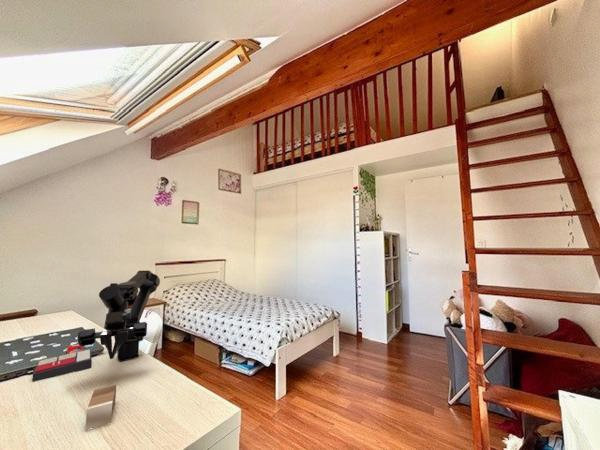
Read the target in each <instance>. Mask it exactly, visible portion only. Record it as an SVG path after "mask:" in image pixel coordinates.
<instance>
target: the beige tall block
mask: <svg viewBox="0 0 600 450" xmlns="http://www.w3.org/2000/svg"><path fill="white" fill-rule="evenodd" d="M116 396H117V384H112V385H108V386H103V387H99V388H95V389H93V392H92V395H91V397H90V400H89V402H88V406H87V407H86V417H85V418H86V419H85V430H87V431H89V430H88V429H90V428H94V429H96V428H95V427H97V428H100V427H99V426H101V427H103V426H102V425H104V426H106V425H105V424H108V423H111V424H112V419H113V416H114V411H115V405H116V398H117V397H116ZM113 410H114V411H113ZM108 425H109V424H108ZM90 430H91V429H90Z"/></svg>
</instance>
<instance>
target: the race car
mask: <svg viewBox="0 0 600 450" xmlns="http://www.w3.org/2000/svg"><path fill="white" fill-rule="evenodd" d="M84 349H85V347H84V346H79V343H76V344H71V345H68V346H67V348H66V349H65V350H66V352H65V355H66V354H71V353H75V352H76V353H78V352H81V351H85V350H84Z"/></svg>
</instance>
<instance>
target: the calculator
mask: <svg viewBox="0 0 600 450" xmlns="http://www.w3.org/2000/svg"><path fill="white" fill-rule="evenodd" d="M89 369H92V349H85V350H84V351H81V352H78V353H76V352H75V353H71V354H66V353H65V354H63V355H59V357H58V356H54V357H50V358H46V359H42V360H39V362H37V364H36V366H35V368H34V370H33V372H32V382H34V383H35V382H39V381H43V380H47V379H51V378H54V377H60V376H63V375H68V374H70V373H76V372H81V371H86V370H89Z"/></svg>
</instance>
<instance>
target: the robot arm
mask: <svg viewBox="0 0 600 450" xmlns="http://www.w3.org/2000/svg"><path fill="white" fill-rule="evenodd" d="M160 282H161V280H160V277H159V276H158V275H157V274H155V273H153V272H152V271H151V270H146V269H145V270H138V271H137V272H136V274H134V275H133V276H132V277H131V278H130V279H128V280H127V281H124V282H119V283H117V282H116V283H114V282H113V283H112V282H111V283H110V284H109V285H108V286H106V287H103V288H102V289H101V290H100V291H99V293H98V296H99V298H100V301H101V302H102V303H103V305H104V307H106V308H108V310H107V311H108V312H107V313H106V314H105V321H104V330H101V331H96V328H87V329H81V330H80V331H79V332H78V333H77V342H78V343H77V344H79V346H82V347H85V346H92V345H93V344H94V343H96V339H97V340H98V339H99V340H100V345H101V346H105V348H106V350H107V353H108V356H109V357H108V358H109V360H113V359H114V358H115V356H116V358H117V359H118V361H119V362H123V361H124V362H125V361H128V360H133V359H137V358H139V357H140V355H139V351H140V350H139V348H140V347H139V346H140V342H143V340H144V337H147V333H148V323H147V321H143V322H141V321H140V320H141V318H142V316H143V313H144V311H145V308H146V306H147V303H148V301H149V298H150V296H151V295H152V293H154V292H156V291H157V289H158V287H159V286H160ZM134 299H135V300H134ZM128 300H134V302H133V304H132V306H131V308H129V302H128ZM112 337H113V338H114V345H113V342H112V341H113V340H112V339H113V338H112Z"/></svg>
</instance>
